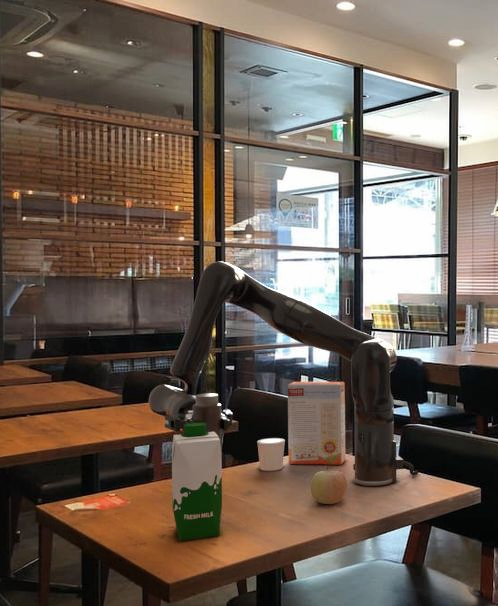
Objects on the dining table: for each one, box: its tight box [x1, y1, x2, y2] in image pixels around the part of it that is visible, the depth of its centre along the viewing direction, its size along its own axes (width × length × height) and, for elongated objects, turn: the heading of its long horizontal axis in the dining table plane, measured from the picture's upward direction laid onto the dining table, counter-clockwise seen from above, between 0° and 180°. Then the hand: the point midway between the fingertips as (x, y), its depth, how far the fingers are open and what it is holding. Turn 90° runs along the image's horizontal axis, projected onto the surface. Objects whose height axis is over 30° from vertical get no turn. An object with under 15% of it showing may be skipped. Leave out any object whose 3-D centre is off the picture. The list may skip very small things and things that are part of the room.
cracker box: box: [287, 381, 346, 466], centre depth 183 cm, size 14×6×21 cm, turn 84°
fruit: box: [310, 465, 348, 505], centre depth 149 cm, size 8×7×8 cm
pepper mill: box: [193, 392, 223, 462], centre depth 144 cm, size 6×6×14 cm
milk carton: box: [171, 422, 223, 542], centre depth 131 cm, size 9×9×20 cm
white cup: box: [256, 437, 286, 472], centre depth 178 cm, size 7×7×7 cm
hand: (210, 426), depth 142 cm, fingers closed on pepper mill, 5 cm apart
